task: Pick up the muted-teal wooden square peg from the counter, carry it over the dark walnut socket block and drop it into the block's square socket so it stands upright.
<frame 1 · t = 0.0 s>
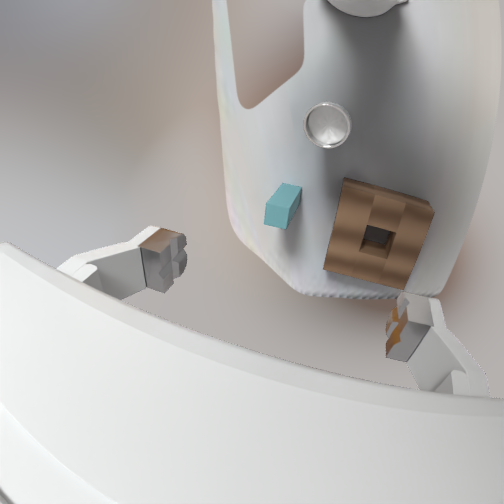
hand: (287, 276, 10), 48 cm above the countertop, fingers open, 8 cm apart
beer glass: (333, 118, 49), on the countertop
peg: (290, 194, 59), on the countertop
socket block: (376, 228, 56), on the countertop
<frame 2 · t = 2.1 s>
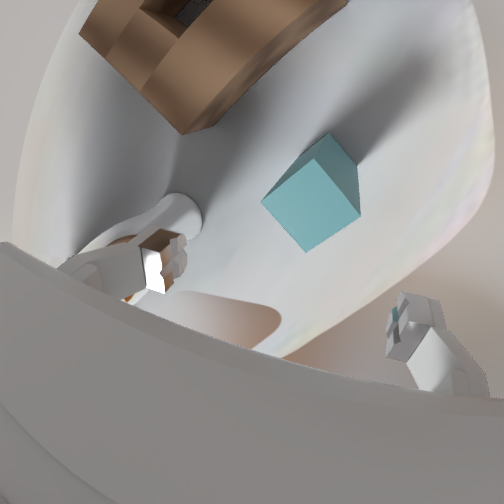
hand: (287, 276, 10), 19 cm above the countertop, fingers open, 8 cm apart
beer glass: (180, 215, 34), on the countertop
peg: (327, 161, 25), on the countertop
socket block: (211, 10, 20), on the countertop
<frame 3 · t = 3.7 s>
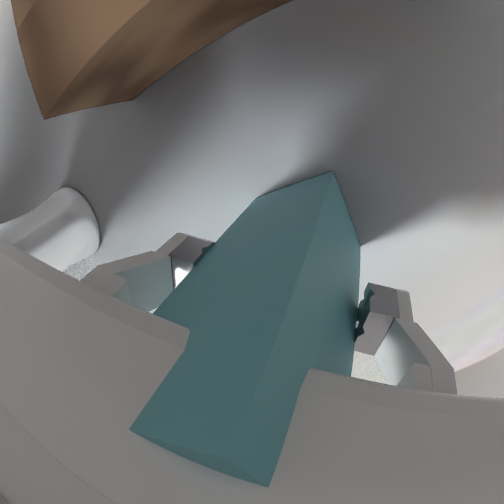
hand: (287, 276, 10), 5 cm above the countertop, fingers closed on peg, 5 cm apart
beer glass: (77, 220, 20), on the countertop
peg: (309, 221, 14), on the countertop, touching gripper
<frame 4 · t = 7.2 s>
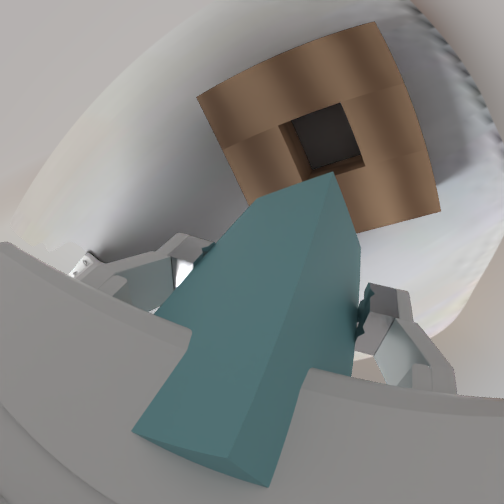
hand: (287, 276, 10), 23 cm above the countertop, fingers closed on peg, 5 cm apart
peg: (309, 222, 14), point 19 cm above the countertop, touching gripper
socket block: (327, 136, 28), on the countertop
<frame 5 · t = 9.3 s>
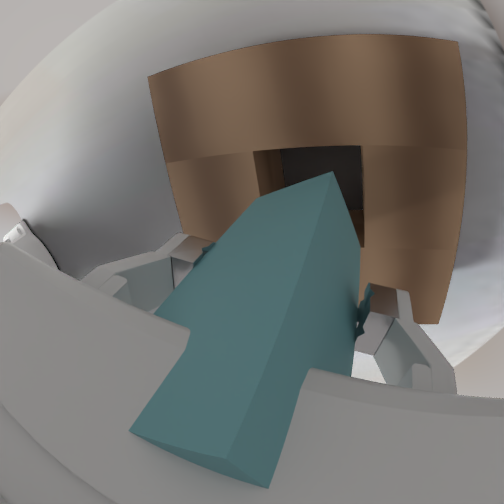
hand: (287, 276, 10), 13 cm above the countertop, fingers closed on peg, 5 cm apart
peg: (309, 222, 14), point 8 cm above the countertop, touching gripper
socket block: (322, 172, 21), on the countertop
when the fingers open (8 cm above the countertop, at t = 10.8 s): peg drops 3 cm, resting in socket block.
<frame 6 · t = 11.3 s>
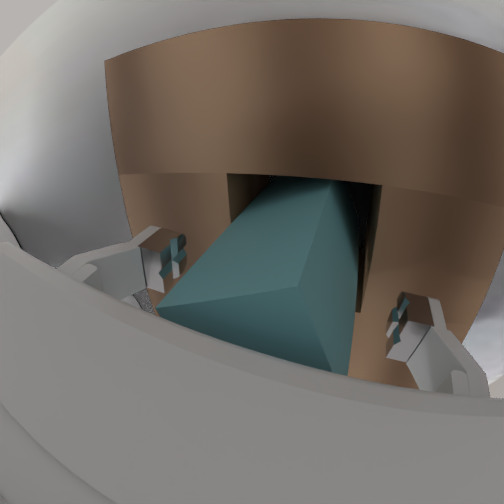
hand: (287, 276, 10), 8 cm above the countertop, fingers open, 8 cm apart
peg: (317, 198, 17), resting in socket block
socket block: (318, 199, 17), on the countertop
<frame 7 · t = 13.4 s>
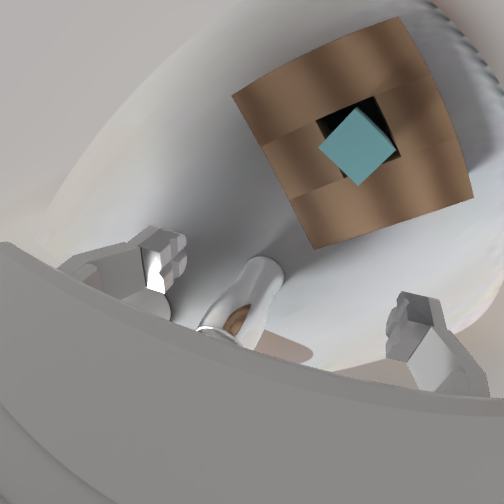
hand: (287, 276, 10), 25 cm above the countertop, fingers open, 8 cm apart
beer glass: (264, 273, 43), on the countertop
peg: (359, 131, 28), resting in socket block
socket block: (359, 130, 28), on the countertop
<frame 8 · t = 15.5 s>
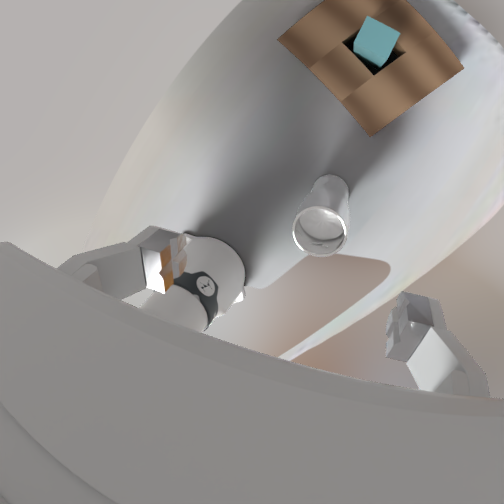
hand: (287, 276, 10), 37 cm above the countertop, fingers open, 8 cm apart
beer glass: (330, 192, 45), on the countertop
peg: (371, 53, 32), resting in socket block
socket block: (371, 53, 32), on the countertop
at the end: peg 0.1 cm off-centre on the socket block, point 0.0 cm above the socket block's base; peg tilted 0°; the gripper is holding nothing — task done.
